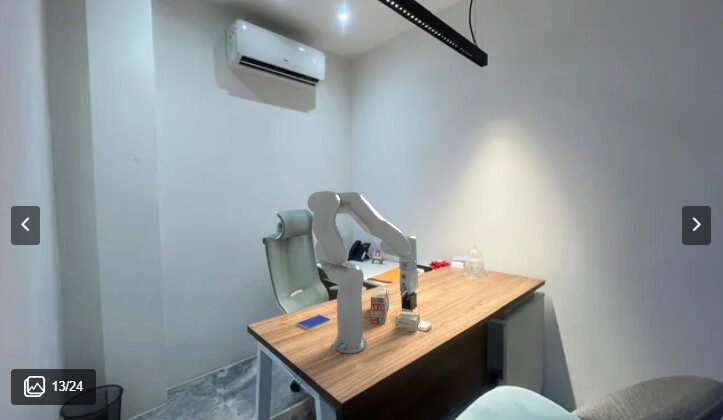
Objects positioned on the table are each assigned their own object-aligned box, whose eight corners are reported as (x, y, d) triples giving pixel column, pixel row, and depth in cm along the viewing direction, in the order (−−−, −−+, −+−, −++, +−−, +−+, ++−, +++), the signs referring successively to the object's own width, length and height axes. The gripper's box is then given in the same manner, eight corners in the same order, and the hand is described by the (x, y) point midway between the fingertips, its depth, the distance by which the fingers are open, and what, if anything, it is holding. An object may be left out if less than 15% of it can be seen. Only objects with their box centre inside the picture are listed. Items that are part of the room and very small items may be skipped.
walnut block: (412, 310, 125) (412, 296, 125) (401, 308, 128) (401, 294, 128) (416, 306, 129) (416, 293, 129) (406, 304, 132) (405, 291, 132)
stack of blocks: (377, 306, 154) (376, 282, 154) (389, 306, 153) (388, 283, 152) (371, 323, 133) (370, 296, 133) (385, 324, 132) (384, 297, 131)
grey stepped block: (416, 332, 124) (416, 320, 123) (397, 329, 127) (397, 318, 126) (420, 324, 131) (419, 313, 131) (402, 322, 134) (402, 311, 134)
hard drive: (308, 327, 128) (330, 318, 137) (297, 322, 133) (318, 314, 142) (308, 331, 128) (330, 322, 137) (297, 326, 133) (318, 317, 143)
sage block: (412, 318, 137) (412, 306, 137) (401, 318, 138) (401, 305, 138) (413, 314, 142) (412, 302, 142) (402, 314, 143) (402, 301, 143)
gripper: (408, 270, 119) (409, 315, 119) (423, 261, 133) (424, 301, 134) (391, 268, 122) (392, 311, 123) (407, 260, 137) (408, 298, 138)
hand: (409, 305), depth 129 cm, fingers closed on walnut block, 5 cm apart
